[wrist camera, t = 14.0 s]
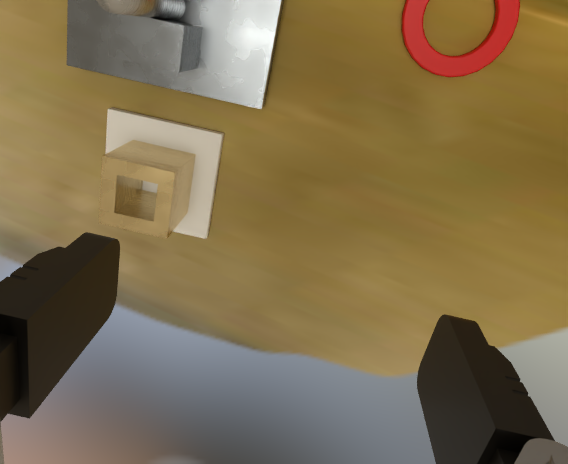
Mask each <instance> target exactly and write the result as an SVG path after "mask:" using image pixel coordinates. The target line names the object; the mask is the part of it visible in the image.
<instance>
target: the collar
mask: <svg viewBox="0 0 568 464" xmlns="http://www.w3.org/2000/svg"><path fill="white" fill-rule="evenodd" d="M195 156H196V154H192V153H188V152H184V151H180V150H175V149H171V148H167V147H162V146H158V145H154V144H149V143H145V142H141V141H137V140H132V141H130V142H128V143H126V144H124V145H122V146H120V147H118V148H116V149H114V150H113V151H111V152H109V153H107V154H105V155H103V156H102V171H101V189H100V207H99V223H101V224H105V225H109V226H113V227H118V228H122V229H126V230H131V231H135V232H139V233H144V234H148V235H152V236H157V237H161V238H165V239H167V238H168V237H169V236H170V234H171V233H172V232H173V231H174V229H175V228H176V227H177V226H178V224H179V223H180V222H181V220H182V219H183V218H184V217H185V215H186V214H187V213H188V207H189V199H190V192H191V185H192V178H193V171H194V163H195ZM143 181H147V182H151V183H155V184H158V187H157V193H154V192H149V191H145V190H142V186H143Z"/></svg>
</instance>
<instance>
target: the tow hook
mask: <svg viewBox="0 0 568 464" xmlns="http://www.w3.org/2000/svg"><path fill="white" fill-rule="evenodd" d="M494 1H495V8H496V13H495V21H494V23H493V26H492V29H491V31H490V33H489V34H488V36H487V38H486V39H485V40H484V41H483V42H482V43H481V44H480V45H479V46H478V47H477V48H475V49H474V50H472V51H471V52H469V53H466V54H463V55H460V56H447V55H442V54H441V53H439V52H437V51H435V50H434V49H433V48H432V47H431V46H430V45H429V43H428V41H427V39H426V37H425V34H424V29H423V16H424V12H425V9H426V5H427V4H428V2H429V0H406V2H405V6H404V10H403V13H402V34H403V38H404V43H405V46H406V48H407V50H408V51H409V53H410V55H411V57H412V58H413V59H414V60H415V61H416V62H417V63H418V64H419V65H420V66H421V67H422V68H424V69H426V70H428V71H430V72H431V73H433V74H436V75H441V76H446V77H457V76H465V75H468V74H471V73H474V72H477V71H479V70H480V69H482V68H484V67H485V66H487V65H488V64H490V63H491V62H492V61H493V60H494V59H495V58H496V57H497V56H498V55H499V54H501V53H502V52H503V50H504V49H505V47H506V46H507V44H508V42H509V41H510V39H511V38H512V36H513V33H514V30H515V28H516V25H517V22H518V16H519V8H520V2H519V0H494Z"/></svg>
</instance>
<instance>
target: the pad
mask: <svg viewBox="0 0 568 464" xmlns="http://www.w3.org/2000/svg"><path fill="white" fill-rule="evenodd" d="M223 138H224V133H222V132H218V131H214V130H209V129H205V128H200V127H196V126H192V125H187V124H183V123H178V122H174V121H169V120H165V119H161V118H156V117H152V116H147V115H143V114H139V113H134V112H130V111H125V110H121V109H117V108H109V109H108V116H107V136H106V154H107V153H109V152H111V151H113V150H114V149H116V148H118V147H120V146H122V145H124V144H126V143H128V142H130V141H132V140H137V141H141V142H145V143H149V144H154V145H158V146H162V147H167V148H171V149H175V150H180V151H184V152H188V153H192V154H196V156H195V163H194V171H193V178H192V185H191V192H190V199H189V207H188V213H187V214H186V215H185V217H184V218H183V219H182V220H181V222H180V223H179V224H178V226H177V227H176V228H175V229H174V231H173V232H178V233H182V234H187V235H191V236H196V237H200V238H204V239H207V237H208V234H209V228H210V221H211V215H212V209H213V202H214V196H215V189H216V183H217V176H218V170H219V164H220V157H221V151H222V144H223ZM157 187H158V184H155V183H151V182H147V181H143V186H142V190H145V191H149V192H154V193H157Z"/></svg>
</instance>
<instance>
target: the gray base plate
mask: <svg viewBox="0 0 568 464" xmlns="http://www.w3.org/2000/svg"><path fill="white" fill-rule="evenodd" d="M283 3H284V0H68V23H67V65H68V66H73V67H77V68H82V69H86V70H90V71H95V72H99V73H104V74H108V75H112V76H117V77H121V78H126V79H130V80H135V81H139V82H143V83H148V84H152V85H157V86H161V87H165V88H170V89H174V90H179V91H183V92H187V93H192V94H196V95H201V96H205V97H209V98H214V99H218V100H223V101H227V102H231V103H236V104H240V105H245V106H249V107H253V108H258V109H262V108H263V107H264V105H265V100H266V95H267V89H268V84H269V78H270V73H271V68H272V62H273V57H274V52H275V46H276V41H277V35H278V30H279V25H280V19H281V14H282V9H283Z"/></svg>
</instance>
